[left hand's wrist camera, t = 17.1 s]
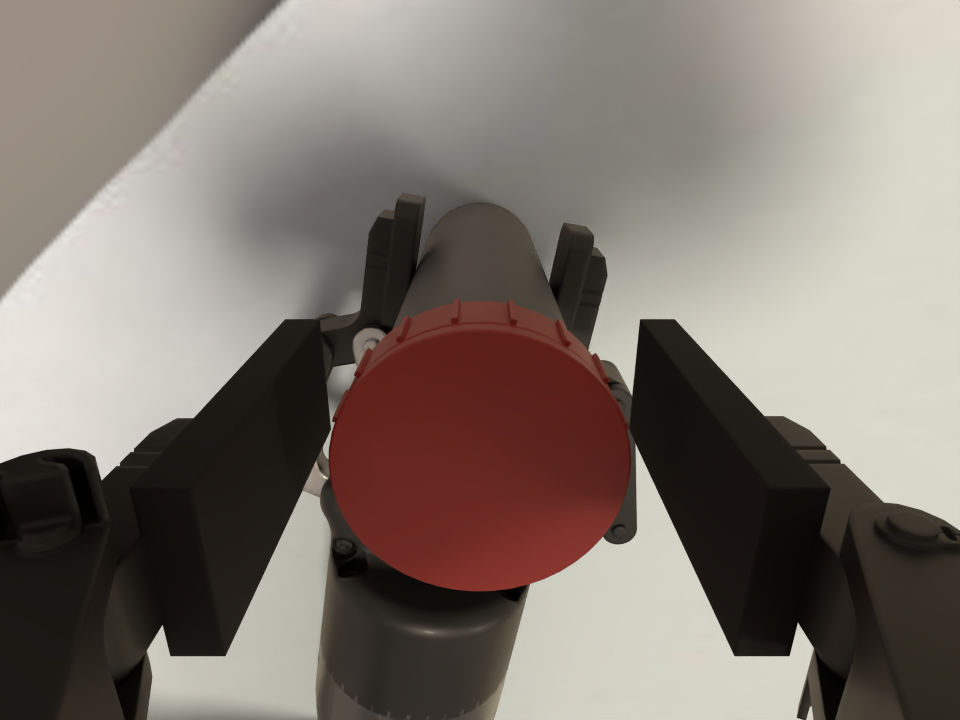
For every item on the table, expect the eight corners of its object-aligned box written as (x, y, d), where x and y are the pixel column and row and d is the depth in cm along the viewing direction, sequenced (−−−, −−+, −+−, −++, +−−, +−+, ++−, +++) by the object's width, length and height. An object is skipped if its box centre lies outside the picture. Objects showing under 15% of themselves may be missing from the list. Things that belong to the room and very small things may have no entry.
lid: (317, 501, 12) (295, 555, 11) (380, 258, 11) (363, 282, 9) (559, 563, 13) (569, 623, 12) (658, 343, 11) (686, 379, 10)
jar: (547, 218, 25) (640, 368, 10) (517, 320, 26) (562, 573, 12) (439, 190, 24) (380, 306, 10) (415, 295, 26) (335, 526, 12)
